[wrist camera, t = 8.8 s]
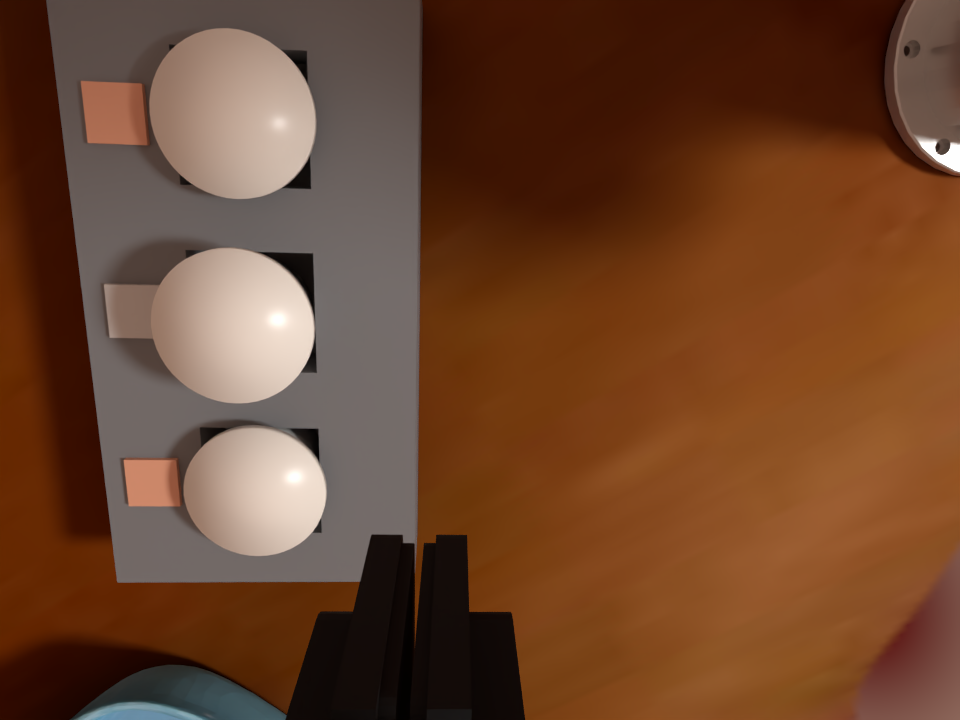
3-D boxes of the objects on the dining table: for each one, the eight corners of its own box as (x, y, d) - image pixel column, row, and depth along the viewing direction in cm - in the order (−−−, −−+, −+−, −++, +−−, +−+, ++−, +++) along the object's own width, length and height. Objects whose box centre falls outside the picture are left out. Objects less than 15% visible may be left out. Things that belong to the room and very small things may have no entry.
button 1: (331, 54, 34) (311, 32, 29) (334, 197, 36) (316, 201, 30) (188, 47, 33) (141, 23, 28) (198, 193, 35) (157, 196, 30)
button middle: (329, 239, 34) (310, 250, 29) (333, 371, 36) (315, 404, 31) (188, 235, 34) (143, 246, 29) (199, 369, 36) (158, 402, 31)
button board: (422, 8, 35) (419, -20, 29) (417, 535, 42) (414, 584, 37) (98, -8, 33) (37, -41, 28) (154, 535, 41) (114, 585, 36)
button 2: (339, 395, 39) (323, 430, 33) (341, 506, 40) (326, 555, 35) (213, 394, 38) (177, 428, 33) (221, 506, 40) (189, 556, 35)
